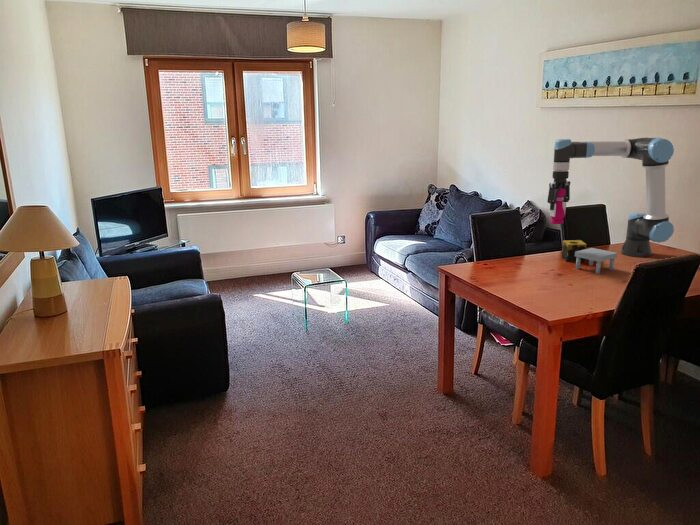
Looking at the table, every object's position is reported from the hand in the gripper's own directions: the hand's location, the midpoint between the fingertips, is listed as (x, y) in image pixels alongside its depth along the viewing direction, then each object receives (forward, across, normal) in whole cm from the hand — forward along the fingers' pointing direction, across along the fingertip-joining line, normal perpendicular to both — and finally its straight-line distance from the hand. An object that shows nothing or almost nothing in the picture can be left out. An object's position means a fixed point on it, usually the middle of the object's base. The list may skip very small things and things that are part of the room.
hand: (557, 215), depth 267 cm
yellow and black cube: (+27, -17, -1) cm, 32 cm away
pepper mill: (+4, 0, 0) cm, 4 cm away
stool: (+27, -10, +17) cm, 33 cm away
